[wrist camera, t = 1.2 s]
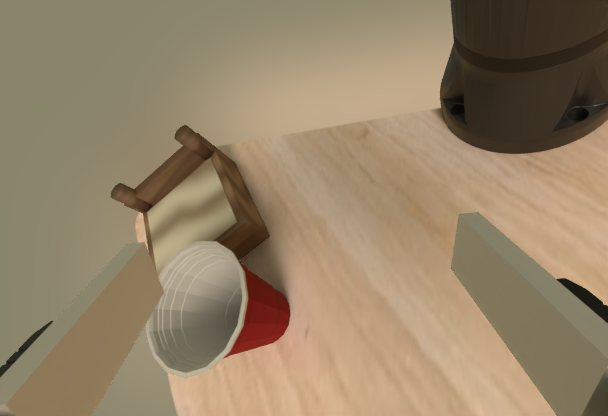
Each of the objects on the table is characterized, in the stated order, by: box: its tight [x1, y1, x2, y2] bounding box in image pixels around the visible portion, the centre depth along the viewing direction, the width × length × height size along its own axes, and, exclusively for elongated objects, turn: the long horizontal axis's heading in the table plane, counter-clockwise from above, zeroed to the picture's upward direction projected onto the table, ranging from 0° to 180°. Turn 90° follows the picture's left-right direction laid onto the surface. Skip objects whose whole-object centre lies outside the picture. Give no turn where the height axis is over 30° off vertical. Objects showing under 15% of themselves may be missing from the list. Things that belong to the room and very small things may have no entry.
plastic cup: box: [146, 241, 290, 378], centre depth 29 cm, size 11×11×12 cm
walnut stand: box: [111, 125, 270, 276], centre depth 41 cm, size 16×15×10 cm
